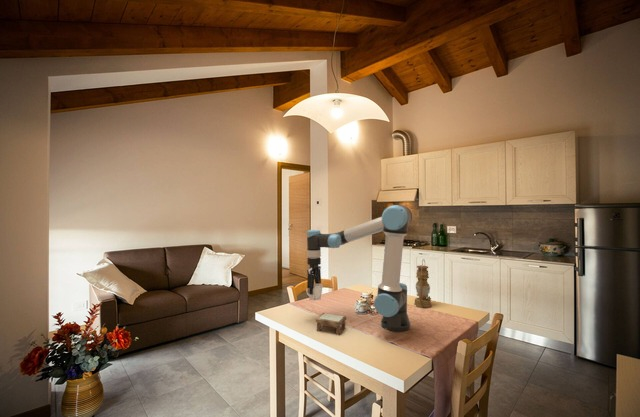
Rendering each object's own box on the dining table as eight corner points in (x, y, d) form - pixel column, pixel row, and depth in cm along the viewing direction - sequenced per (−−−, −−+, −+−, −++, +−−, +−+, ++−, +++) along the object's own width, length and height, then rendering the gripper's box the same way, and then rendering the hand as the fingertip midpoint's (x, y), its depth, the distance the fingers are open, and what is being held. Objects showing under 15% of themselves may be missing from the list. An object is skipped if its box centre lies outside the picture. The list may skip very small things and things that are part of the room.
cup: (319, 301, 165) (319, 286, 165) (303, 299, 169) (303, 285, 169) (325, 298, 171) (325, 284, 171) (309, 296, 175) (309, 282, 175)
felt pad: (343, 316, 158) (343, 316, 158) (338, 322, 151) (338, 321, 151) (324, 313, 162) (324, 313, 162) (318, 318, 155) (318, 318, 155)
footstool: (346, 327, 159) (346, 316, 159) (340, 335, 149) (340, 323, 149) (323, 324, 164) (323, 312, 164) (315, 330, 154) (316, 319, 154)
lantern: (432, 310, 187) (432, 261, 187) (414, 308, 190) (415, 260, 190) (430, 302, 202) (430, 257, 202) (413, 301, 205) (414, 257, 205)
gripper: (314, 254, 181) (315, 293, 180) (300, 259, 163) (300, 302, 162) (326, 255, 178) (327, 294, 178) (313, 260, 160) (313, 304, 159)
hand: (314, 298), depth 170 cm, fingers closed on cup, 7 cm apart
